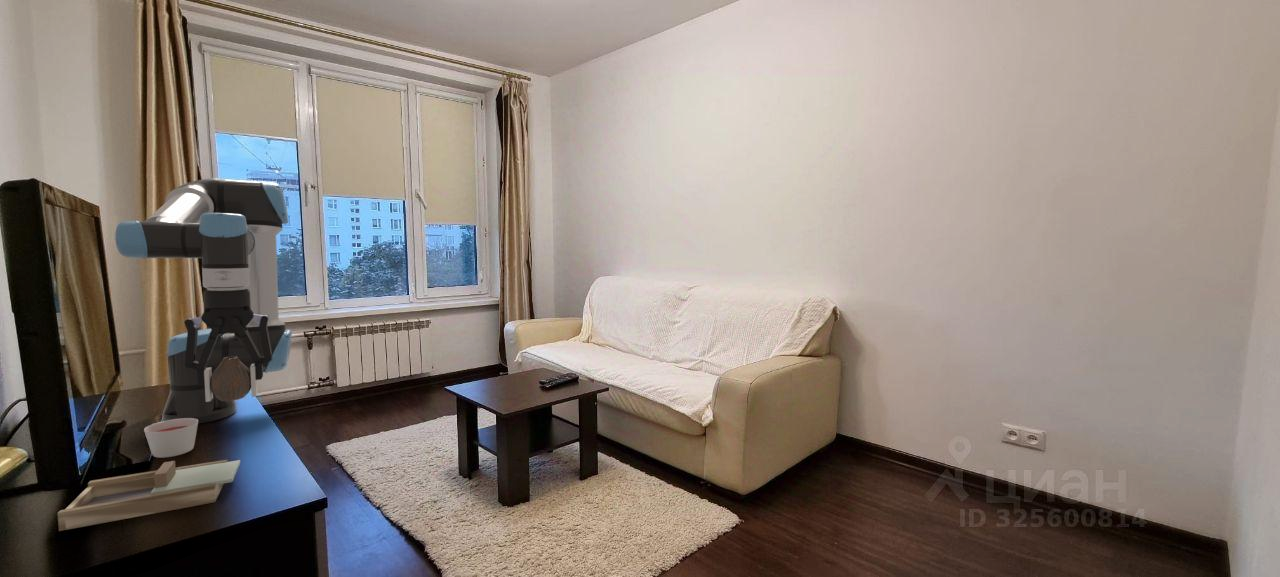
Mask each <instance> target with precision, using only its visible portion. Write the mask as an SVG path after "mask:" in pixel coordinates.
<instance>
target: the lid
mask: <svg viewBox="0 0 1280 577" xmlns="http://www.w3.org/2000/svg"><path fill="white" fill-rule="evenodd" d="M240 465H241V459H237V460H231V461H227V462H224V463H218V464H211V465H205V466H199V467H192V468H186V469H179V470H176V460H171V461H164V462H163V463H162V464H161V465H160V467H159V468H158V469H157V470H158V471H157V470H156V471H157V472H156V473H155V475H154V478H155V487H154V489H153V490H152V491H151V495H152V494H158V493H164V492H169V491H175V490H181V489H187V488H193V487H199V486H204V485H210V484H216V485H217V484H223V483H224V484H227V483H233V481H234V478H235V476H236V475H237V472H238V469H239V467H240ZM224 484H223V485H224Z"/></svg>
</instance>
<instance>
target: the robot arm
mask: <svg viewBox="0 0 1280 577" xmlns="http://www.w3.org/2000/svg"><path fill="white" fill-rule="evenodd" d="M286 204H287V203H286V200H285V196H284V191H283V188H282V186H281V185H280V184H278V183H276V182H270V181H263V180H247V179H246V180H245V179H230V178H229V179H228V178H204V179H197V180H194V181H189V182H186V183H184V184H181V185H178V186H177V187H175V188H174V189H172V190H171V191H170V192H169V193H167V195H166V197H165V201H164V203H163V205H162V206H160V207H159V208H158V209H157V210H155V211H154V213H152V214H151V215H150V216H149V217H148V218H147V219H146V220H144V221H142V220H140V221H139V220H131V221H130V220H129V221H128V220H127V221H126V220H125V221H121V222H120V223H118V224H117V225H116V228H115V233H114V236H115V237H114V238H115V239H114V240H115V245H116V248H117V251H118V253H119V254H120V255H121V256H122V257H125V258H138V259H140V258H141V259H143V260H146V259H201V269H202V272H201V273H202V276H201V277H202V287H203V288H206V290H204V291H203V293H202V294H203V313H202V315H201V316H198V317H194V318H193V317H188V318H187V319H186V320H185V321H184V326H185V328H186V330H187V332H184V333H180V334H177V335H174V336H173V337H171V338H169V340H168V342H167V354H166V357H167V364H168V365H167V366H168V367H167V368H168V380H169V394H168V397H167V400H166V401H165V402H166V403H165V405H164V408H163V411H162V415H161V417H162V421H167V420H172V419H180V418H194V419H197V420H198V425H200V424H204V423H210V422H215V421H218V420H221V419H224V418H227V417H230V416H232V415H234V414H235V413H236V412H237V404H236V403H237V402H236V400H233V401H221V400H219V399H218V398H216V397H215V396H214V394H213V393H212V391H211V386H210V380H211V376H212V374H213V372H214V371H215V369H216V368H217V367H218V366H219V365H220V363H221V362H222V360H223V358H225V357H230V356H237V357H238V358H239V360H240V361H241V362H242V363H243V364H244V365H245V366H247V367H248V369H249V370H250V372H251V389H250V391H251V398H253V397H257V395H258V381H260V380H262V379H263V377H264V374H268V373H272V372H280V371H283V370H285V368H286V367H287V366H288V362H289V358H290V352H291V345H292V333H293V332H292V330H290V329H288V328H287V329H286V323H285V322H284V321H283V320H281V319H280V317H279V288H278V253H277V252H278V251H277V235H278V234H279V233H280V232H282V231H283V225H286V224H289V217H288V210H287V205H286ZM202 322H203V323H204V324H205V325H206V326H208V328H206V329H205V328H204V329H199V328H200V327H201V326H202V325H201V324H202Z"/></svg>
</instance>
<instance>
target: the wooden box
mask: <svg viewBox="0 0 1280 577" xmlns="http://www.w3.org/2000/svg"><path fill="white" fill-rule="evenodd" d="M224 462H228V459H222V460H217V461H211V462H204V463H198V464H197V463H196V464H191V465H190V464H189V465H184V466H178V467H176V466H175V468H176V470H179V469H186V468H192V467H199V466H205V465H211V464H218V463H224ZM157 471H158V469H157V470H151V471H145V472H139V473H133V474H132V473H131V474H126V475H125V474H124V475H118V476H112V477H106V478H99V479H93V480H89V482H87V487H86V488H85V489H84V490H83V491H82V492H81V493H80V494H79V495H78V496H77V497H76V498H75V499H74V500H72V502H71V503H70V504H69V505H68V506H67V507H66V508H65V509H61V510H59V511H58V512H57V522H58V523H57V524H58V531H59V532H62V531H67V530H73V529H77V528H84V527H89V526H93V525H100V524H105V523H109V522H116V521H120V520H121V521H122V520H125V519H126V520H127V519H132V518H137V517H143V516H147V515H153V514H154V515H155V514H159V513H164V512H168V511H173V510H181V509H186V508H191V507H195V506H202V505H206V504H211V503H212V504H213V503H216V501H217V500H218V497H219V494H220V492H221V491H222V489H223V486H224V485H225V483H223V484H217V485H216V484H210V485H204V486H199V487H193V488H187V489H181V490H175V491H169V492H164V493H158V494H152V495H151V491H152V490H153V489H154V487H155V478H154V475H155V473H156V472H157Z"/></svg>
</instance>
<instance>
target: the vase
mask: <svg viewBox="0 0 1280 577" xmlns="http://www.w3.org/2000/svg"><path fill="white" fill-rule="evenodd" d="M210 386H211V391H212V393H213V394H214V396H215V397H216V398H218V399H219V400H221V401H233V400H234V401H238V400H242V399H244V398H245V397H246V396H248V394H249V393H250V391H251V372H250V370H249V369H248V367H247V366H245V365H244V364H243V363H242V362H241V361H240V360H239V358H238V357H237V356H230V357H225V358H223V360H222V362H221V363H220V365H219V366H218V367H217V368H216V369H215V371H214V372H213V374H212V376H211V380H210Z"/></svg>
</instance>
